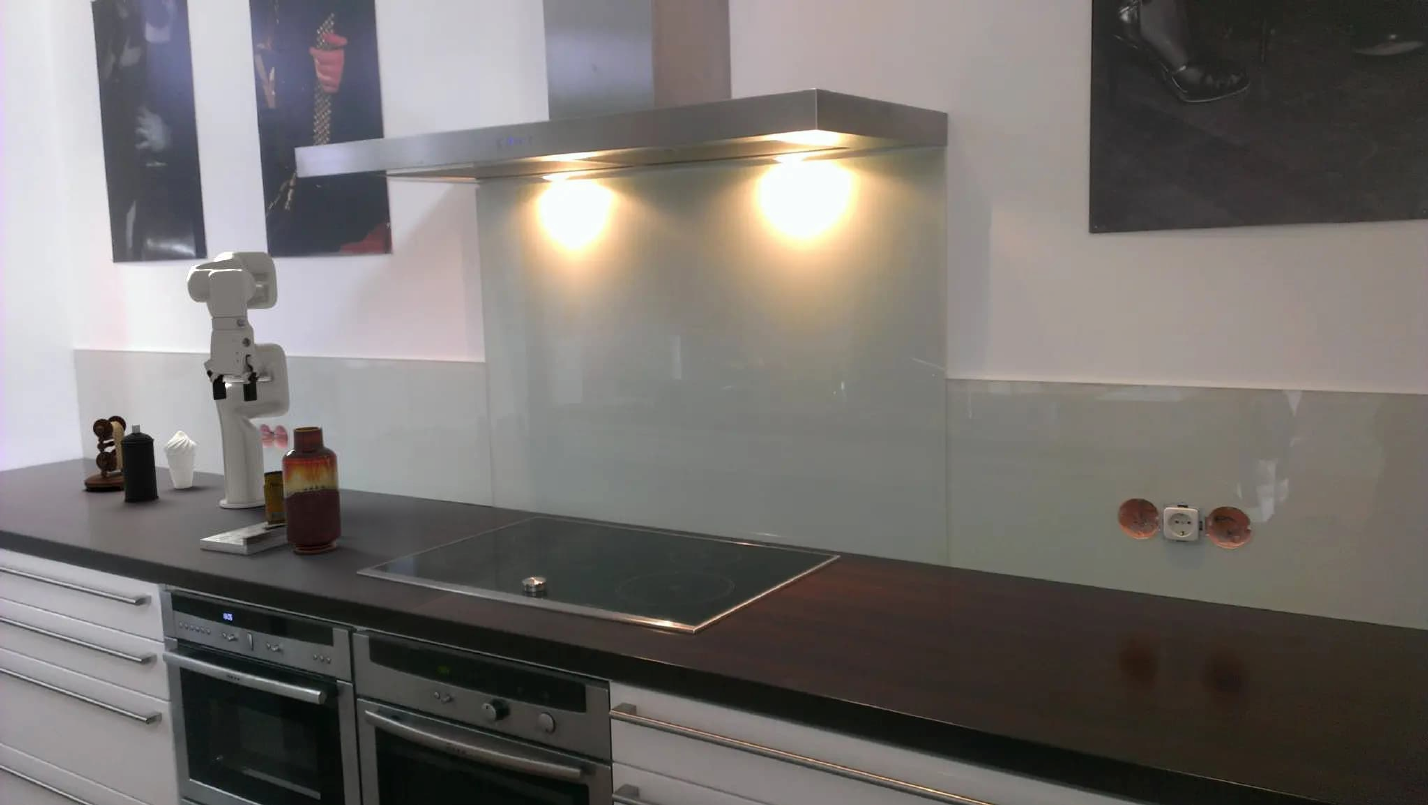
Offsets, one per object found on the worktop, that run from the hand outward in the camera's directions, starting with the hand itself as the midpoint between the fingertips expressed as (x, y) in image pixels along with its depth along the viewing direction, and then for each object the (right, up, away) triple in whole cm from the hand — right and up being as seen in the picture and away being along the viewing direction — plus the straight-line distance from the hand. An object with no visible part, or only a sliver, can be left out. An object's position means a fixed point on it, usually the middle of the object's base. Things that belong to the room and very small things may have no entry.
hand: (235, 400), depth 248 cm
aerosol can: (-43, -27, +42) cm, 66 cm away
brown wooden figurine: (-60, -25, +60) cm, 88 cm away
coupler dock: (+9, -31, -6) cm, 33 cm away
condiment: (+12, -28, -3) cm, 31 cm away
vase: (+24, -32, -15) cm, 43 cm away
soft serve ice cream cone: (-40, -25, +58) cm, 75 cm away
